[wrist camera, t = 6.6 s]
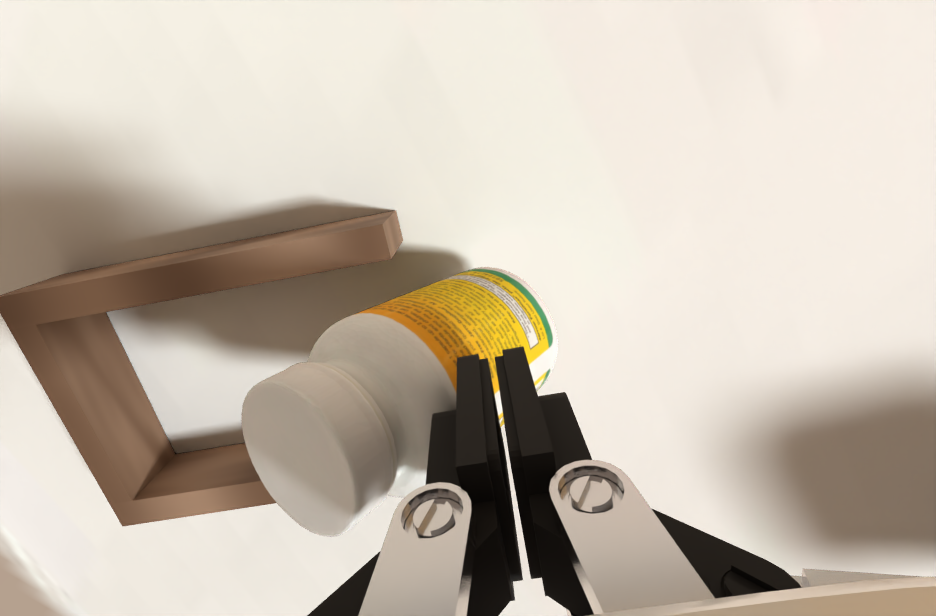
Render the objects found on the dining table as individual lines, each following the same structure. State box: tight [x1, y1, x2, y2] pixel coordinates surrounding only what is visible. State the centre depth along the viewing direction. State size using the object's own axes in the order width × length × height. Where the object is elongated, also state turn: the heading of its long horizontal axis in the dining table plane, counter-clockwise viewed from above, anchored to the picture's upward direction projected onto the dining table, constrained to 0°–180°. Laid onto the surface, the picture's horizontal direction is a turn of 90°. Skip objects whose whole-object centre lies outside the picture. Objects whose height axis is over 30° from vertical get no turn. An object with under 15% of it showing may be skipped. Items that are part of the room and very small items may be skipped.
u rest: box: [0, 211, 403, 526], centre depth 19 cm, size 14×10×3 cm
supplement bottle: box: [242, 267, 558, 537], centre depth 15 cm, size 5×5×10 cm
